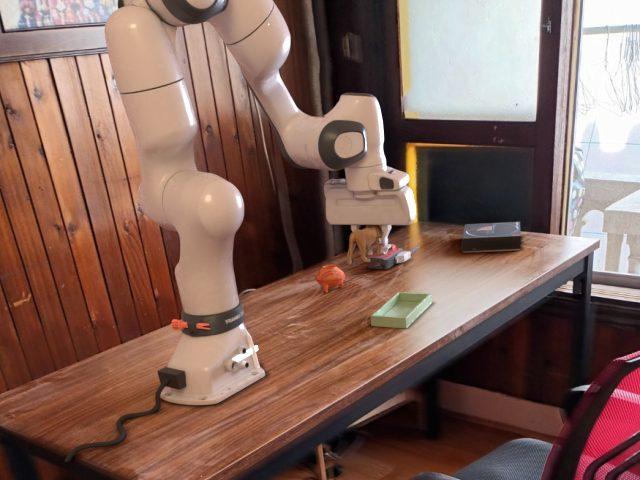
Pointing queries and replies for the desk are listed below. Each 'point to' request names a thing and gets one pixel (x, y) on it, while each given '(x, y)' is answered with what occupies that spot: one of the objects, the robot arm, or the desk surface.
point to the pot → (330, 277)
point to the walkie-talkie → (389, 257)
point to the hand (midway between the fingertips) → (373, 244)
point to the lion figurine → (364, 241)
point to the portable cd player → (491, 237)
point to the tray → (401, 310)
